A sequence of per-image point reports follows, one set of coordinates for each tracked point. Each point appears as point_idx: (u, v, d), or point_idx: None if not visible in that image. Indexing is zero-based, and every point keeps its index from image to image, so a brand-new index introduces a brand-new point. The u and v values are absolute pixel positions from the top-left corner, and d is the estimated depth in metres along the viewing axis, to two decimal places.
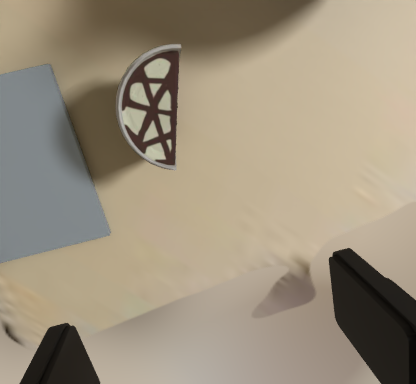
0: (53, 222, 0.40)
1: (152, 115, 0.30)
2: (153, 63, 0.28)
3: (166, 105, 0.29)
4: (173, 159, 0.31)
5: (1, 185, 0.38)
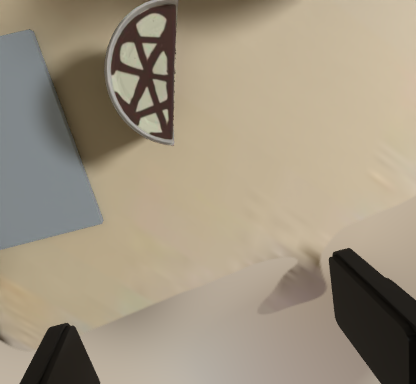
0: (40, 208, 0.36)
1: (146, 80, 0.26)
2: (146, 19, 0.25)
3: (162, 69, 0.26)
4: (170, 132, 0.28)
5: None
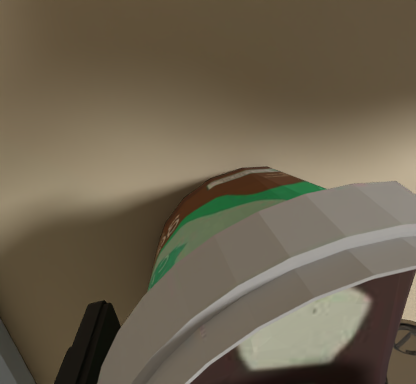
0: None
1: None
2: None
3: None
4: None
5: None
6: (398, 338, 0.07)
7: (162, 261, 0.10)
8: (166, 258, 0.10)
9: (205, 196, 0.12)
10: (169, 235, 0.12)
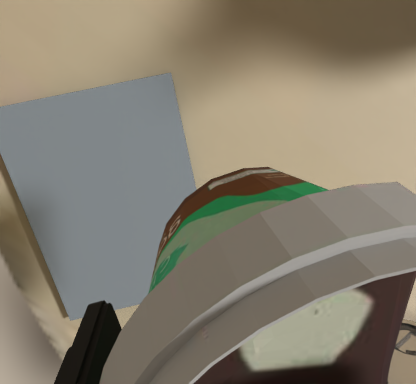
0: (152, 269, 0.32)
1: None
2: None
3: None
4: None
5: (94, 224, 0.30)
6: (398, 338, 0.07)
7: (163, 262, 0.10)
8: (167, 259, 0.10)
9: (206, 197, 0.12)
10: (170, 236, 0.12)
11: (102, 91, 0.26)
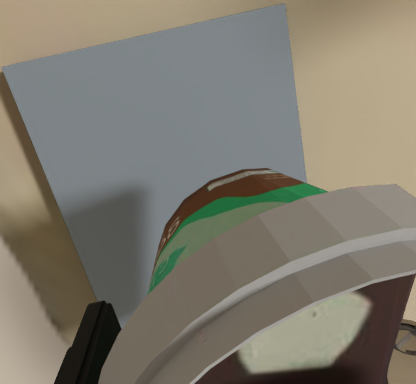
0: None
1: None
2: None
3: None
4: None
5: None
6: (398, 338, 0.07)
7: (162, 263, 0.10)
8: (166, 260, 0.10)
9: (205, 198, 0.12)
10: (169, 237, 0.12)
11: (182, 34, 0.17)
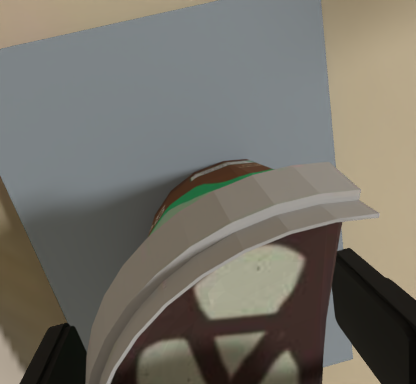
0: None
1: None
2: (233, 267, 0.07)
3: None
4: None
5: None
6: None
7: None
8: None
9: (187, 187, 0.13)
10: (155, 223, 0.13)
11: (185, 18, 0.13)
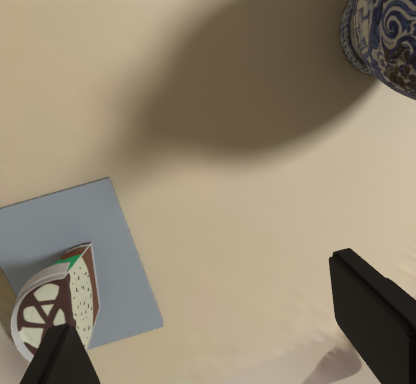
0: (110, 318, 0.41)
1: None
2: (42, 289, 0.29)
3: (61, 322, 0.30)
4: None
5: None
6: None
7: None
8: None
9: None
10: None
11: (58, 195, 0.36)
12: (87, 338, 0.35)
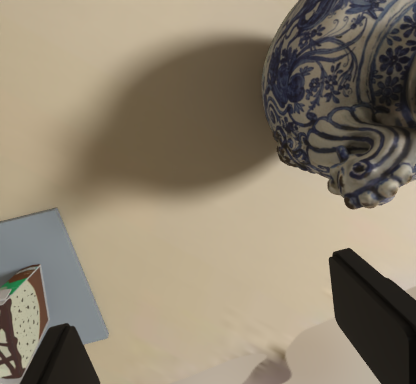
0: None
1: None
2: None
3: (2, 339, 0.35)
4: (19, 373, 0.37)
5: None
6: None
7: None
8: None
9: (10, 279, 0.40)
10: None
11: (10, 224, 0.41)
12: (30, 350, 0.39)
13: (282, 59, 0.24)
